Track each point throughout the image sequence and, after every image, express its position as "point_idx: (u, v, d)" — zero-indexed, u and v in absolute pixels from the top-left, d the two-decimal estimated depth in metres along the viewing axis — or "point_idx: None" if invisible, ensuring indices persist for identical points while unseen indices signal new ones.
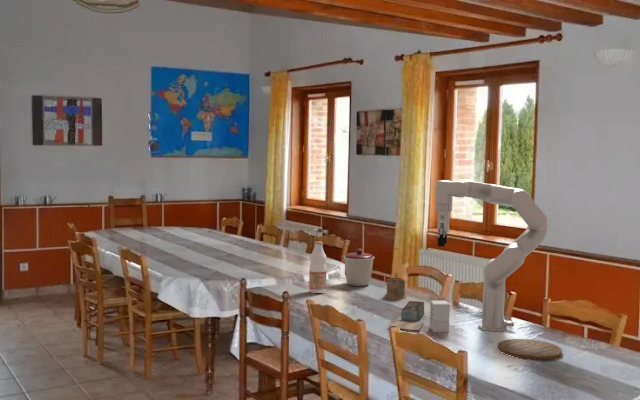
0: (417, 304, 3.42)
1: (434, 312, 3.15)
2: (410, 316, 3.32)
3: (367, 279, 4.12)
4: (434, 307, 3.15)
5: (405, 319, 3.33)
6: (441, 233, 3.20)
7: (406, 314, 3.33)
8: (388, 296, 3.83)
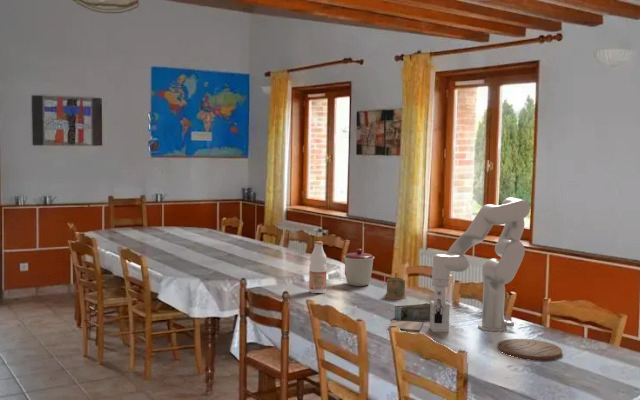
0: (421, 306, 3.39)
1: (434, 312, 3.15)
2: (398, 314, 3.37)
3: (367, 279, 4.12)
4: (434, 307, 3.15)
5: (396, 316, 3.39)
6: (438, 310, 3.12)
7: (396, 311, 3.38)
8: (388, 296, 3.83)
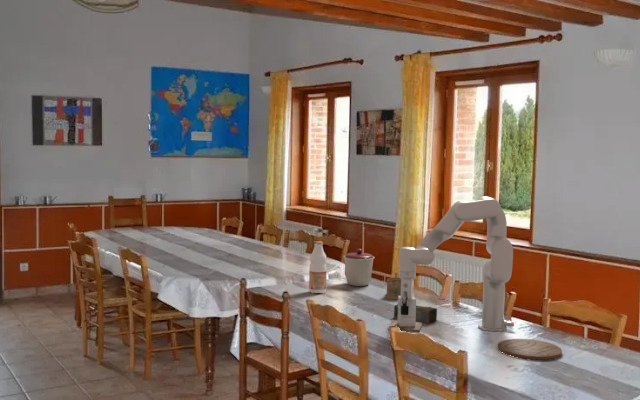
0: (417, 307, 3.36)
1: None
2: None
3: (367, 279, 4.12)
4: (400, 302, 3.19)
5: None
6: (404, 302, 3.15)
7: None
8: (388, 296, 3.83)
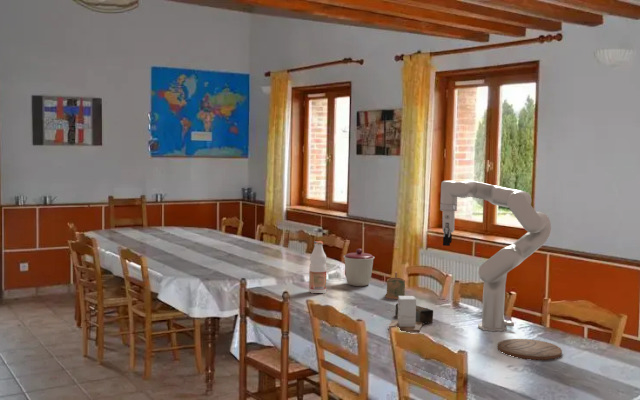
0: None
1: (401, 307, 3.19)
2: None
3: (367, 279, 4.12)
4: (401, 302, 3.19)
5: None
6: (446, 233, 3.25)
7: None
8: (388, 296, 3.83)
